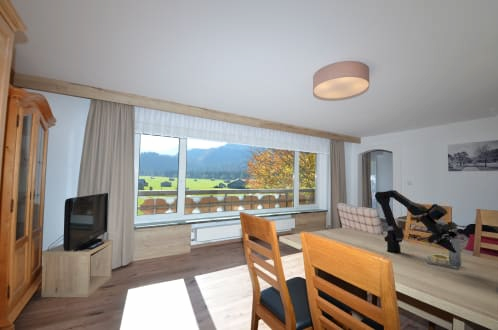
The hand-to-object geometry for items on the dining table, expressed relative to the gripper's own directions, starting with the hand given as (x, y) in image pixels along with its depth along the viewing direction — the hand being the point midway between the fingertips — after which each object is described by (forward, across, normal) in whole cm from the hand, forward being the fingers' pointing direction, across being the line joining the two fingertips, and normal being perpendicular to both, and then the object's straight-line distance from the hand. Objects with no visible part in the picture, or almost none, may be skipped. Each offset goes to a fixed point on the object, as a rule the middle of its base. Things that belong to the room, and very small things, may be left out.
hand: (458, 252), depth 107 cm
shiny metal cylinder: (+4, 0, +6) cm, 7 cm away
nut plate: (-1, +8, +15) cm, 17 cm away
